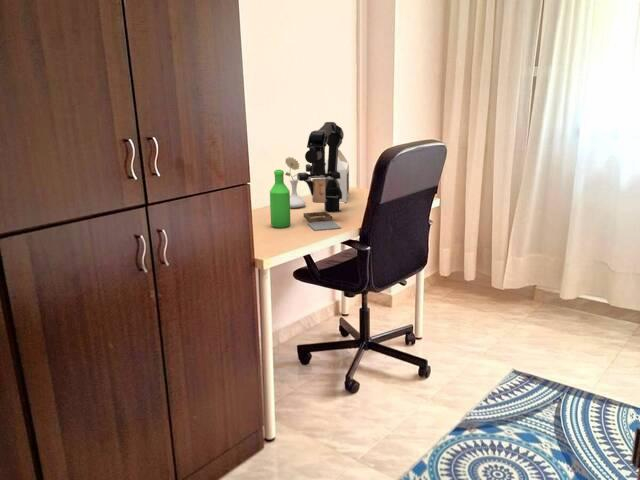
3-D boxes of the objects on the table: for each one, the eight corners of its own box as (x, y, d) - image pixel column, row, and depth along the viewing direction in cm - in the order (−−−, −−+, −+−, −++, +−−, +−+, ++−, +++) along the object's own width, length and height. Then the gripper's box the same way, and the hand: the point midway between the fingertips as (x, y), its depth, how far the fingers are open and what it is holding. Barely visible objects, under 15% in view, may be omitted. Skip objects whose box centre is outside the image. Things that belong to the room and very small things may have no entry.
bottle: (268, 224, 254) (266, 169, 247) (286, 222, 257) (284, 167, 250) (274, 229, 246) (272, 172, 239) (293, 227, 250) (291, 170, 242)
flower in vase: (310, 207, 286) (309, 157, 279) (291, 210, 280) (289, 160, 272) (296, 202, 296) (295, 154, 289) (277, 205, 290) (275, 156, 283)
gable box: (325, 194, 316) (324, 143, 308) (349, 194, 314) (349, 143, 306) (321, 203, 295) (320, 149, 287) (346, 203, 293) (346, 149, 285)
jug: (328, 203, 252) (328, 181, 249) (315, 204, 250) (315, 182, 247) (323, 199, 261) (322, 177, 258) (310, 200, 259) (310, 178, 256)
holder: (325, 215, 270) (325, 211, 269) (332, 220, 259) (332, 216, 259) (303, 216, 267) (303, 213, 266) (309, 222, 257) (309, 218, 256)
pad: (333, 222, 257) (333, 220, 257) (341, 228, 246) (341, 227, 246) (307, 224, 254) (307, 222, 254) (314, 231, 243) (314, 229, 243)
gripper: (333, 156, 261) (333, 190, 265) (294, 158, 256) (294, 192, 260) (340, 160, 250) (340, 194, 254) (299, 162, 246) (300, 197, 250)
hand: (319, 194), depth 255 cm, fingers closed on jug, 6 cm apart
